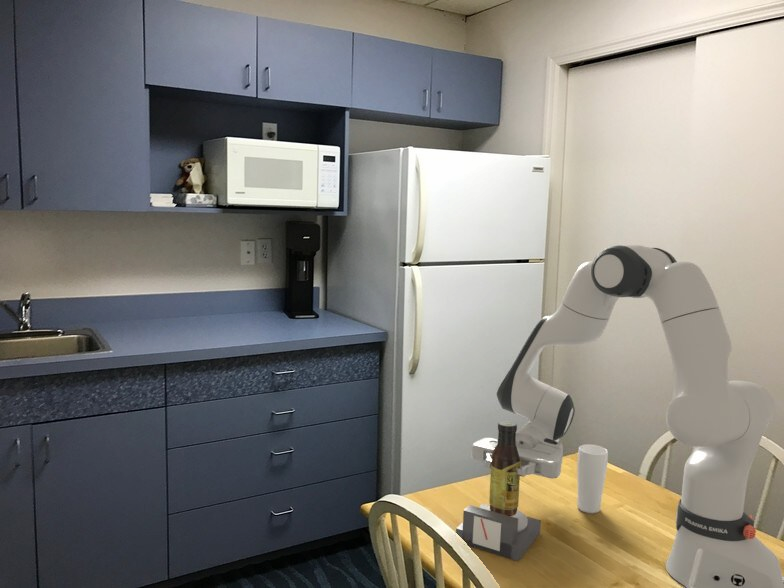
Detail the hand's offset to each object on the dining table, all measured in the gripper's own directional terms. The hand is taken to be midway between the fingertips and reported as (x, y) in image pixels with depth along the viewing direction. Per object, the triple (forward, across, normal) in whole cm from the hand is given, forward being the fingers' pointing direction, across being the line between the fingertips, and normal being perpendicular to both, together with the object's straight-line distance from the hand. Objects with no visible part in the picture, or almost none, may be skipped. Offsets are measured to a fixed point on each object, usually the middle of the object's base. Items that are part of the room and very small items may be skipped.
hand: (503, 468), depth 145 cm
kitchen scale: (+1, 0, +15) cm, 15 cm away
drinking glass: (-24, +13, +16) cm, 32 cm away
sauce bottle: (-1, 0, +10) cm, 10 cm away
